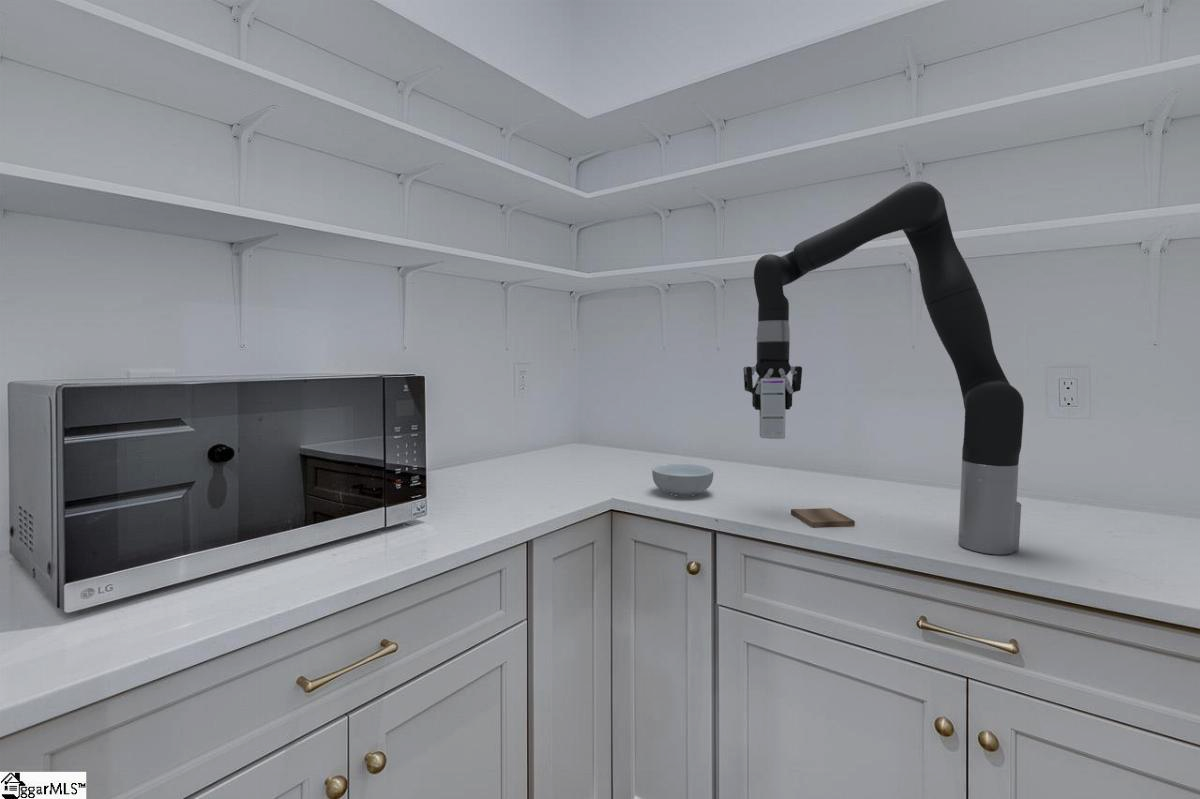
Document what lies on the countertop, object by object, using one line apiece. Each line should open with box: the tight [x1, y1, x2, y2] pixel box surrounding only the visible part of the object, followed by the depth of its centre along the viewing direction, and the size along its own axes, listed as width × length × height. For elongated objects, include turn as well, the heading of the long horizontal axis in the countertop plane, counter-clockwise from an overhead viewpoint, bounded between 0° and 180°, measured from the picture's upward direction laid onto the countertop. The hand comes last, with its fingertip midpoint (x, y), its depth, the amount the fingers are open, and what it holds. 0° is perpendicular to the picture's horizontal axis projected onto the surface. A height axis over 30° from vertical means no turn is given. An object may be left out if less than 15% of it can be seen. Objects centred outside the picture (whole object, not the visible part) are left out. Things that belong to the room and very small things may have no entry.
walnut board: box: [790, 507, 856, 528], centre depth 134 cm, size 10×11×1 cm
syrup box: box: [758, 377, 786, 440], centre depth 138 cm, size 6×6×14 cm
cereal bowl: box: [651, 462, 714, 497], centre depth 160 cm, size 17×17×7 cm
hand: (772, 409), depth 138 cm, fingers closed on syrup box, 6 cm apart
